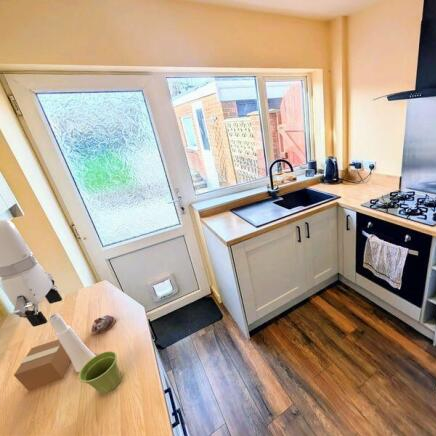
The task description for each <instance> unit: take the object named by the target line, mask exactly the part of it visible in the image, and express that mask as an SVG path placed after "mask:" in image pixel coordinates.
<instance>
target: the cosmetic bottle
mask: <svg viewBox="0 0 436 436" xmlns="http://www.w3.org/2000/svg"><path fill="white" fill-rule="evenodd" d="M47 320H48V323H49V324H50V327H52V328H53V330H54V331H55V336H56V338H57V340H59V341H60V343H61V344H62V346H63V348H64V349H65V351H66V353H67V354H68V356H69V358H70V360H71V362H70V363H71V364H72V366H73V369H74V372H76V373H80V371H81V369H82V368H83V366H84V365H85V364H86V363H87V362H88V361H89V360H91V359H92V358H93V357H95V356H97V355H96V354H95V353H93V352H92V351H91V350H90V349H89V348H88V347H87V346H86V344H85V343H84V342H83V341H82V339H81V338H80V337H79V336H78V334H77V333H76V331H74V329H73V328H72V327H71V326H70V325H69V324H68V325H67V323H66V322H65V320H64V319H63V317H62V316H61V315H60V314H59V313H57V312H56V313H53V314H50V315H49V316H48V319H47Z"/></svg>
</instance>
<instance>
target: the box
mask: <svg viewBox="0 0 436 436" xmlns="http://www.w3.org/2000/svg"><path fill="white" fill-rule="evenodd" d="M71 363H72V362H71V360H70V358H69V356H68V354H67V353H66V351H65V349H64V348H63V346H62V344H61V343H60V341H59V340H58V339H55V340H52V341H49V342H45V343H42V344H40V345H37V346H33V347H31V348H30V350H29V351H28V353H27V355H26V356H25V357H23V359H22V360H21V362H20V365H19V366H18V368H17V369H16V371H15V372H14V374H13V376H14V377H15V379H17V380H18V382H19V383H20V384H21V385H22V386H23V387H24V388H25V389H26V390H27V391H28V392H30V391H33V390H36V389H38V388H41V387H44V386H47V385H49V384H52V383H55V382H57V381H61V380H63V379H64V377H65V375H66V373H67V371H68V368H69V366H70V364H71Z"/></svg>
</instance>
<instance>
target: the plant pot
mask: <svg viewBox="0 0 436 436" xmlns="http://www.w3.org/2000/svg"><path fill="white" fill-rule="evenodd" d="M117 358H118V356H117V353H116V352H115V351H112V350H107V351H106V350H105V351H103V352H101V353H99V354H97V355H96V356H95V357H93V358H92V359H91V360H89V361H88V362H87V363H86V364H85V365H84V366H83V368H82V369H81V371H80V372H78V377H77V378H78V381H80V382H81V383H84V384H88V385H89V386H91V388H93V389H94V390H95V391H96V392H98V393H99V394H102V395H104V394H107V393H109V392H111V391H113V390H115V389H116V388H117V387H118V385H119V384H120V382H121V381H122V375H121V371H120V368H119V365H118V362H117Z"/></svg>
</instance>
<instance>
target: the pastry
mask: <svg viewBox="0 0 436 436" xmlns="http://www.w3.org/2000/svg"><path fill="white" fill-rule="evenodd" d="M115 323H116V318H115V316H112V315H109V314H107V315H106V314H105V315H104V316H101V317H97V318H96V319H94V321H93V323H92V325H91V333H92V334H93V335H100V334H103V333H105V332H107V331H109V330H110V329H111V328H112V327H113V326H114V325H115Z"/></svg>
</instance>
